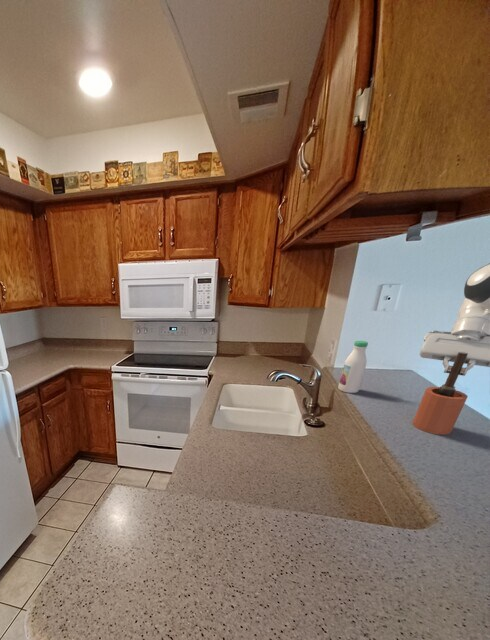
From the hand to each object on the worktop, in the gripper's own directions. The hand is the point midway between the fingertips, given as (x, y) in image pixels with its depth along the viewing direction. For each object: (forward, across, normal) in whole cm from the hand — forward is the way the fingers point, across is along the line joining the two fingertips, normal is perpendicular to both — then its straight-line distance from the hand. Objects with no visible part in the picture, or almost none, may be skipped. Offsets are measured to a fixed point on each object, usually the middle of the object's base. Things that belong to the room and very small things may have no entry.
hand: (454, 373), depth 98 cm
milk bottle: (-1, -29, +28) cm, 40 cm away
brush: (+6, 0, +7) cm, 9 cm away
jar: (+12, 0, +13) cm, 18 cm away
